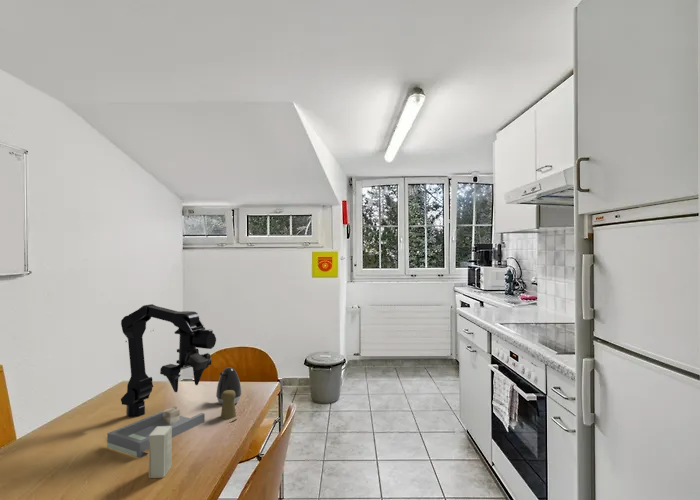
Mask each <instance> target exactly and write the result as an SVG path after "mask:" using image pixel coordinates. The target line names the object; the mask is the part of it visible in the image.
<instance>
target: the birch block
mask: <svg viewBox="0 0 700 500" xmlns="http://www.w3.org/2000/svg"><path fill="white" fill-rule="evenodd" d="M162 411H163V422H164V423H167V424H172V423H174V422H177V421H179V417H180V416H181V415H180V409H179V408H177V409H176V408H172V407H170V409H169V408H167V409H165V411H164V410H162Z"/></svg>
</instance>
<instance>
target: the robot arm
mask: <svg viewBox="0 0 700 500" xmlns="http://www.w3.org/2000/svg"><path fill="white" fill-rule="evenodd" d="M151 318H155V319H157V320H162V321H165V322H169V323H171V324H173V325H174V326H175V327H176V328H177V330H175V331H174V334H175V335H179V343H178V344H179V348H177V349H176V352H177V353H178V359H177V360H176V364H173V363H169V364H165V365H162V366H161V367H160V371H159V373H160V375H162V376H164V377H166V379H168V382H169V384H170V385H171V387H172V390H173V393H178V390H179V379H180V377H181V372H182V371H181V370H184V369H185V370H186V369H189V368H192V372H193V380H194V381H193V382H194V385H195V386H198V385H199V384H200V383H199V382H200V380H201V378H202V375H203V373H204V371H205V370H207V368H209V366H211V365H212V358H211V354H210V353H209V352H207V353H204V354H200V353H199V352H200V351H199V349H205V350H208V349H209V350H211V349H214V347H215V346H216V342H217V338H216V334H215V333H214V331H213V329H206V327H205V326H204V324H203V322H202V320H201V319H200V316H199V314H198V312H196V311H190V310H188V311H179V310H173V309H170V308H165V307H162V306H158V305H155V304H153V303H152V304H151V303H150V304H144V305H142V306H141V307H140V308H138V309H136V310H134V311H133V312H131V313H129V314H128V315H125V316H124V317H123V318H122V319H121V320H120V325H121V329H122V333H123V334H124V337H126V338H127V341H128V342H127V343H128V355H129V366H130V367H129V368H130V378H129V381H128V383H127V385H126V387H127V388H126V392H125V394H124V395H122V397H121V398H120V402H121V405H123V406H126V410H125V411H126V413H125V414H126V416H127V417H129V418H132V417H134V418H135V417H136V418H137V417H138V418H139V417H142V416H144V415H145V414H146V405H145V402H146V401H145V400H148V399H149V398H150V395H151V393H152V391H153V388H154V384H153V377H152V376H150V377H149V376H148V374H147V373H146V364H145V353H144V352H145V351H144V342H143V341H144V340H143V337H144V334H145V331H146V330H147V322H149V321H150V320H151Z"/></svg>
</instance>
